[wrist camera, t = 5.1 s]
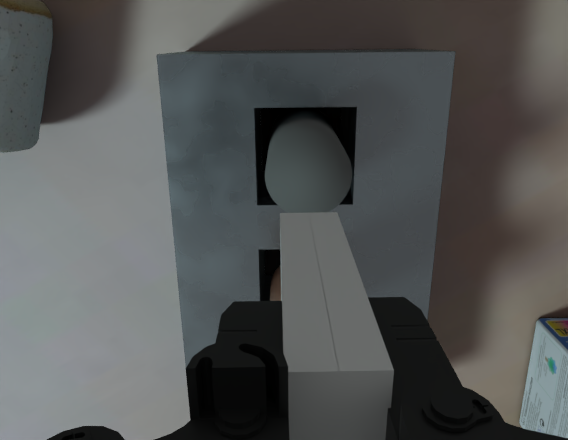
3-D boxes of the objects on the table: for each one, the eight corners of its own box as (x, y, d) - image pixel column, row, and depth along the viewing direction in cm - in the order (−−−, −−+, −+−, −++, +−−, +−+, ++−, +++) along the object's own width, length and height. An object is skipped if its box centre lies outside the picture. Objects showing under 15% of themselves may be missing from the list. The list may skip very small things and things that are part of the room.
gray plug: (271, 166, 31) (265, 217, 22) (270, 105, 30) (263, 133, 21) (331, 165, 31) (350, 216, 22) (332, 104, 30) (353, 131, 21)
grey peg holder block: (210, 391, 38) (195, 464, 32) (185, 51, 30) (156, 54, 23) (390, 389, 38) (412, 462, 32) (417, 49, 30) (455, 51, 23)
